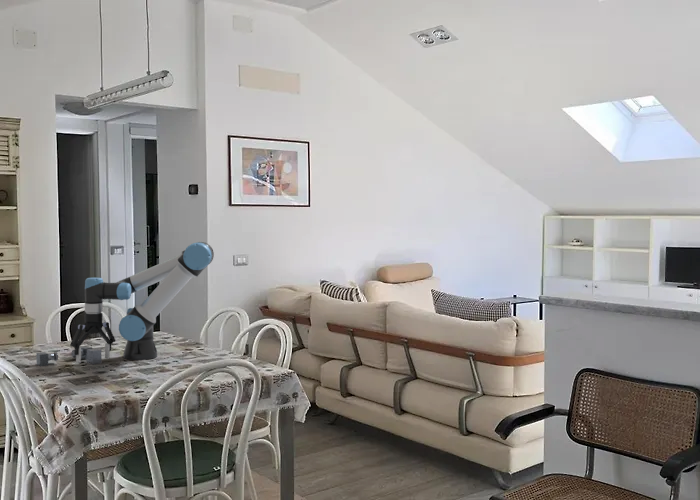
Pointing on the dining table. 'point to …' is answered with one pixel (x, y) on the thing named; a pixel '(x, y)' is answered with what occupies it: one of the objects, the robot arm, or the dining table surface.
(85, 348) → the shaft
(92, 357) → the block
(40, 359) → the shaft
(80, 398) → the dining table surface
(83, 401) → the dining table surface
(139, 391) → the dining table surface
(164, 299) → the robot arm
